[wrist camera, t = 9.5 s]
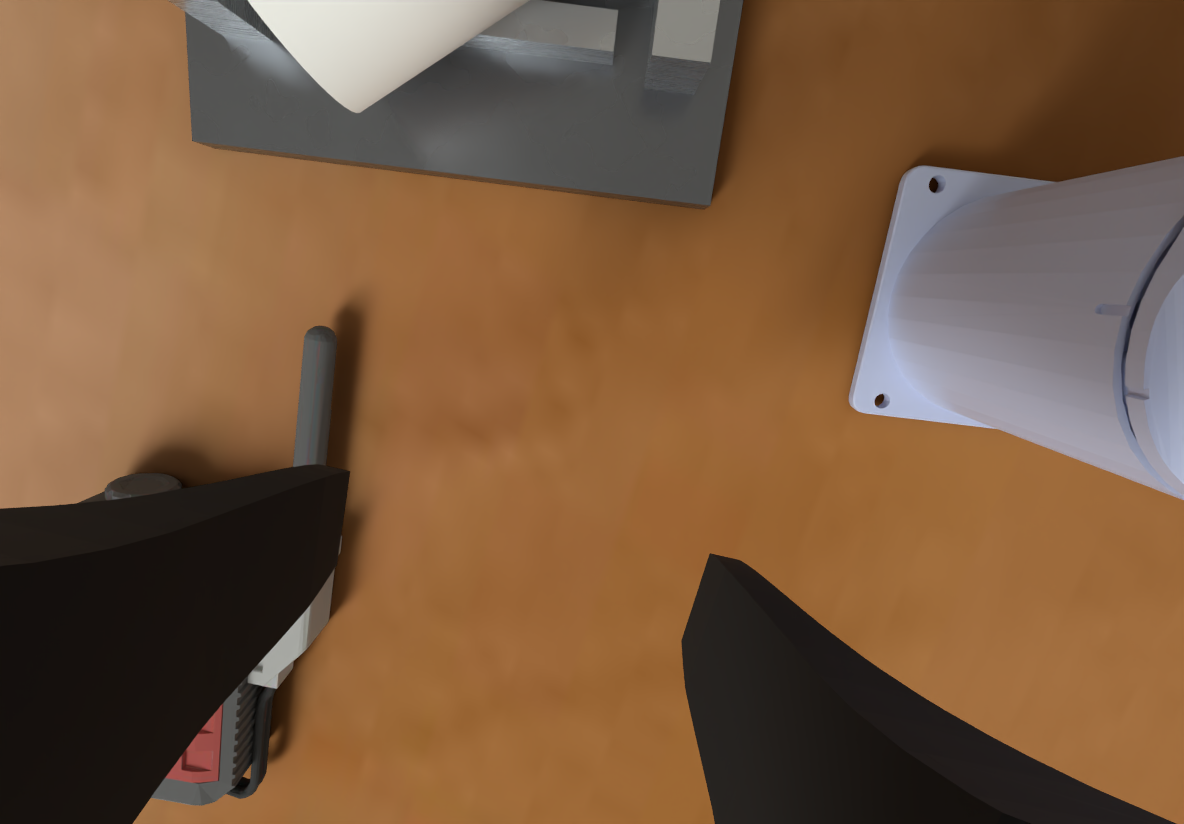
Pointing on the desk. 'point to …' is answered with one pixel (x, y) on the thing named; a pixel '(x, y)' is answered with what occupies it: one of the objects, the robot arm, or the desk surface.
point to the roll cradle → (495, 99)
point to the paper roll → (375, 39)
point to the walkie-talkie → (247, 711)
